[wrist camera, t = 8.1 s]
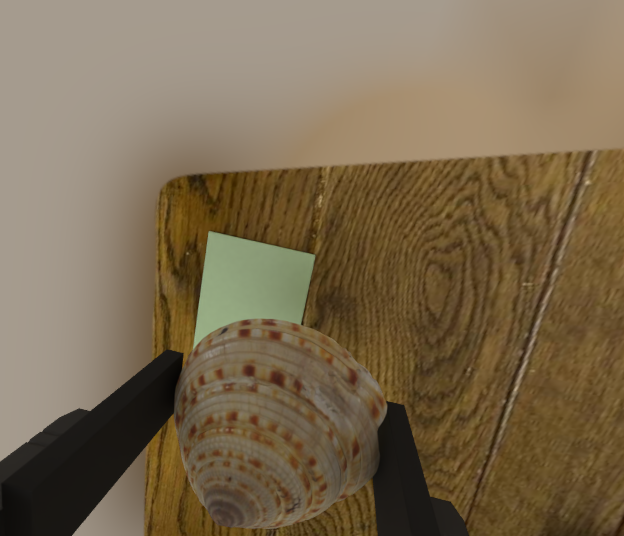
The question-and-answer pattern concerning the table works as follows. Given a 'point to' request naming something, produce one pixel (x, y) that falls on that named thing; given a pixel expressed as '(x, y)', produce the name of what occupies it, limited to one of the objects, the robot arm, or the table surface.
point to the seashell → (275, 423)
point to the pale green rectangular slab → (251, 283)
